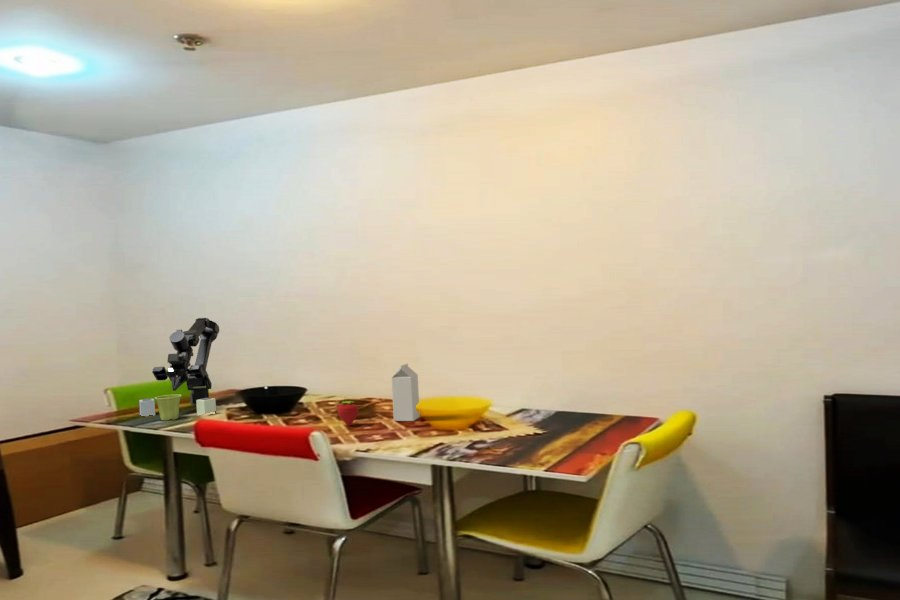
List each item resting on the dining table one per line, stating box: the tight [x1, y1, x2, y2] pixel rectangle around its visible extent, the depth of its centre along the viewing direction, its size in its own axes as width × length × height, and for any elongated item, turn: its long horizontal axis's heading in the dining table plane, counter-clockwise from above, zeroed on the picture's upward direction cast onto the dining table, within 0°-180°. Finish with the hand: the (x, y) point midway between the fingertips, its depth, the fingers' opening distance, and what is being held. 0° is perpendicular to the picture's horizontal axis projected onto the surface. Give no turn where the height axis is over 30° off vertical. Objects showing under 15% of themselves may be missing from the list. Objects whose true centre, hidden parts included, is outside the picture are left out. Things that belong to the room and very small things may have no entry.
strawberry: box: [337, 396, 360, 427], centre depth 228 cm, size 6×8×10 cm
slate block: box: [138, 398, 156, 417], centre depth 267 cm, size 5×5×6 cm
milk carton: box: [391, 363, 421, 422], centre depth 234 cm, size 7×7×19 cm
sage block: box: [195, 397, 217, 417], centre depth 262 cm, size 5×5×6 cm
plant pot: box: [154, 393, 182, 421], centre depth 256 cm, size 9×9×9 cm
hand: (173, 390), depth 262 cm, fingers closed
